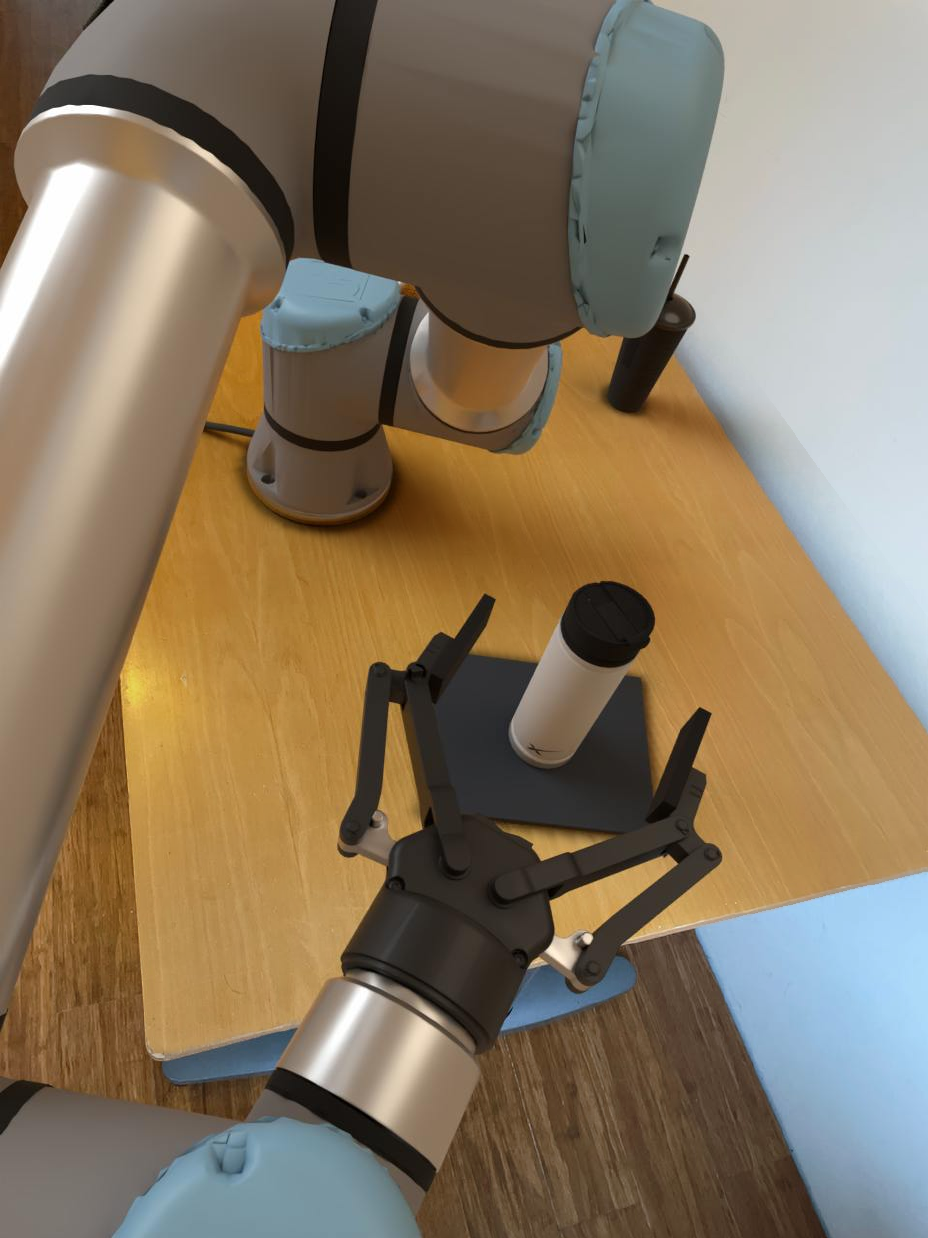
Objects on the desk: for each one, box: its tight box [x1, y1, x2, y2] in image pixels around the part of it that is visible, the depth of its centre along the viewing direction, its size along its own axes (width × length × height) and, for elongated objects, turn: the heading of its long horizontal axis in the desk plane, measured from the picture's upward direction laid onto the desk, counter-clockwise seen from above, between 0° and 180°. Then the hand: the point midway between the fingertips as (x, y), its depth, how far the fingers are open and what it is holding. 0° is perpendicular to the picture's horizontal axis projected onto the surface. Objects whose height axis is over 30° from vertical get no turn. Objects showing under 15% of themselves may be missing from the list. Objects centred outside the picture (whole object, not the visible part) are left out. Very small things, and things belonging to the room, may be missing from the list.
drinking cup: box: [606, 253, 697, 413], centre depth 97 cm, size 8×8×20 cm
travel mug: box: [509, 580, 656, 769], centre depth 65 cm, size 6×7×20 cm
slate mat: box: [432, 653, 654, 835], centre depth 73 cm, size 20×16×1 cm
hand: (589, 663), depth 47 cm, fingers open, 13 cm apart
